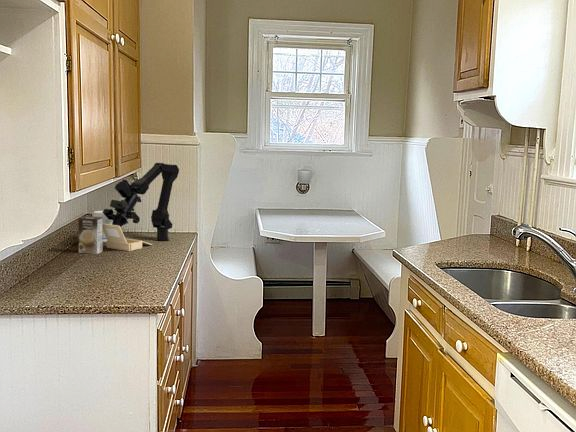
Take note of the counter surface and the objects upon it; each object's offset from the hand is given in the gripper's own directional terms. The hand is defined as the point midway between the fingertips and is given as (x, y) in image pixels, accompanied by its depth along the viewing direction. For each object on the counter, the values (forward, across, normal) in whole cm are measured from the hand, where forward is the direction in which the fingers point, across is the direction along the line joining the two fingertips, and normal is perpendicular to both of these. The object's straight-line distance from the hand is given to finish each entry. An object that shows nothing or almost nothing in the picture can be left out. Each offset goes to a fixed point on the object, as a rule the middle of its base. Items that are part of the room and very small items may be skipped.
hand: (112, 230), depth 277 cm
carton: (-1, 0, +15) cm, 15 cm away
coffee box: (+13, -5, +1) cm, 14 cm away
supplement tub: (-3, -21, +18) cm, 28 cm away
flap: (0, 0, +2) cm, 2 cm away
